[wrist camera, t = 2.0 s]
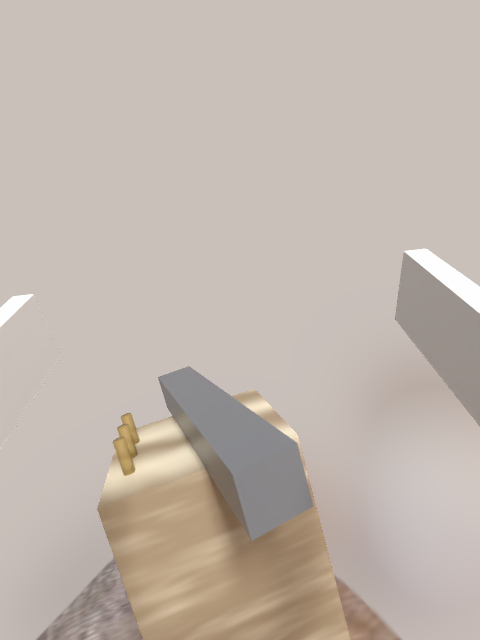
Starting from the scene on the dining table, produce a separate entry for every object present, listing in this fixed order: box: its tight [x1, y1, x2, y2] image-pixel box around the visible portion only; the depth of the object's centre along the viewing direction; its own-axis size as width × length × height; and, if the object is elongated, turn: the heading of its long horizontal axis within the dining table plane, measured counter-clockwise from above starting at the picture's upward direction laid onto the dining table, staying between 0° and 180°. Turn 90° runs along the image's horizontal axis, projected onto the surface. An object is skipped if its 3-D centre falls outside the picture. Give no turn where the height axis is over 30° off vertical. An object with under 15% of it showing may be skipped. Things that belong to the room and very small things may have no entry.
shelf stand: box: [97, 389, 350, 640], centre depth 37 cm, size 14×16×41 cm
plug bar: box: [158, 367, 314, 541], centre depth 32 cm, size 27×4×4 cm, turn 21°
